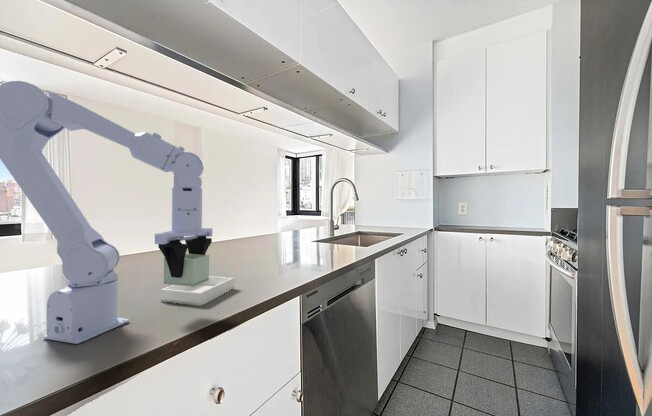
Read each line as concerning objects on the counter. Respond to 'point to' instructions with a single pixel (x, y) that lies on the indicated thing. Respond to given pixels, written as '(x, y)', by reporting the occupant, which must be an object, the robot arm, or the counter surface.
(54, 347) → the counter surface
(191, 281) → the small crate
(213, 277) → the white shallow tray
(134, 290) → the counter surface
